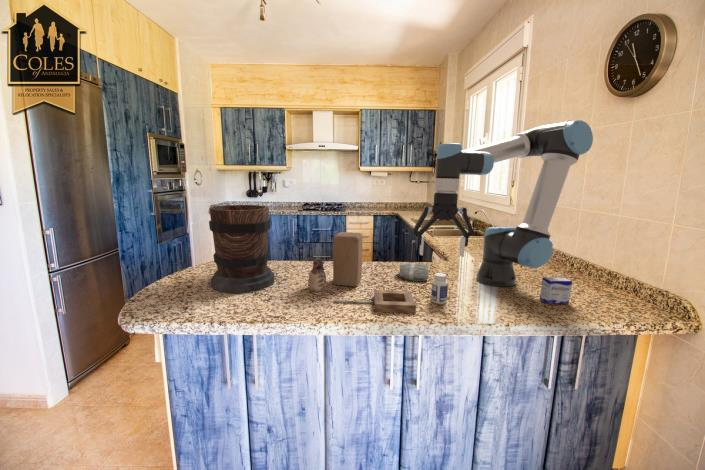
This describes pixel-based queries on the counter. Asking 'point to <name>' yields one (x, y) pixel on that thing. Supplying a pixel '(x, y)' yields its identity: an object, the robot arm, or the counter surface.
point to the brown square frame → (389, 306)
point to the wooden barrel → (241, 248)
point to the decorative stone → (413, 271)
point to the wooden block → (347, 259)
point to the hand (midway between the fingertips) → (441, 255)
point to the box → (555, 290)
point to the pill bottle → (439, 289)
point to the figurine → (317, 277)
